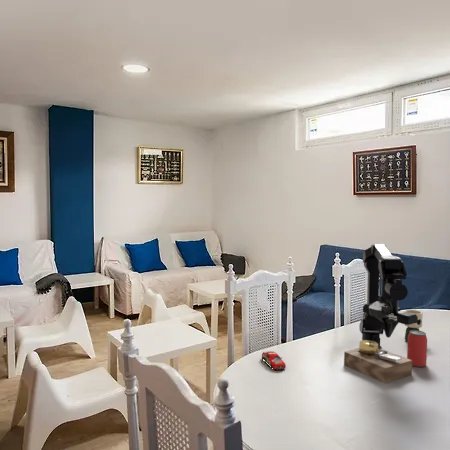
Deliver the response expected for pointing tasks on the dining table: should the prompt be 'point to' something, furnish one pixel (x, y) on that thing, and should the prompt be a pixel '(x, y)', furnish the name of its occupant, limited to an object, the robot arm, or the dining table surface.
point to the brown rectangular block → (378, 365)
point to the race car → (273, 360)
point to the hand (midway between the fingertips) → (388, 337)
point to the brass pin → (368, 347)
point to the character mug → (415, 325)
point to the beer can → (417, 348)
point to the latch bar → (389, 357)
